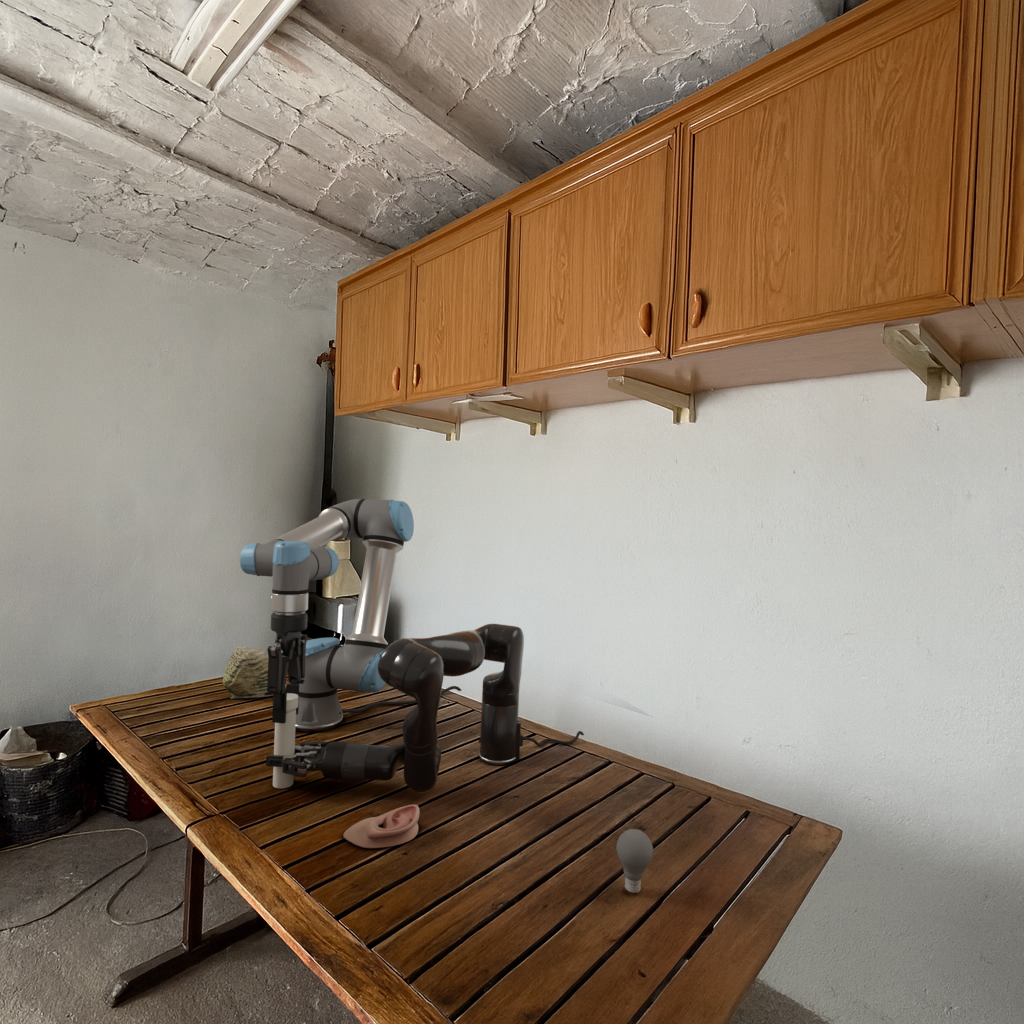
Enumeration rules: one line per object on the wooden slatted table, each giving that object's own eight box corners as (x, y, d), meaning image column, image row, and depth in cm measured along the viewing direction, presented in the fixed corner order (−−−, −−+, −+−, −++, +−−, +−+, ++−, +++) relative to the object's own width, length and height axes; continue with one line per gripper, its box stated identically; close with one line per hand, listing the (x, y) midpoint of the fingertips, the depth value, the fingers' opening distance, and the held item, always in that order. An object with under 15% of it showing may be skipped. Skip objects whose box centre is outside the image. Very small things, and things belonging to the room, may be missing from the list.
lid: (268, 708, 137) (268, 697, 137) (285, 702, 142) (285, 691, 142) (286, 712, 135) (286, 701, 135) (303, 706, 140) (303, 695, 140)
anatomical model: (336, 822, 116) (363, 794, 127) (335, 843, 116) (362, 813, 127) (404, 832, 113) (426, 803, 124) (403, 854, 113) (425, 823, 124)
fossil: (218, 695, 195) (220, 647, 195) (278, 685, 208) (279, 640, 207) (228, 703, 189) (230, 653, 188) (289, 692, 201) (290, 645, 201)
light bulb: (610, 879, 108) (613, 822, 108) (644, 879, 109) (647, 822, 109) (619, 902, 102) (622, 840, 102) (655, 901, 103) (658, 840, 103)
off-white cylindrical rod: (287, 789, 136) (290, 704, 136) (269, 787, 137) (272, 702, 137) (296, 780, 141) (299, 698, 140) (278, 779, 141) (281, 696, 141)
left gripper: (293, 604, 148) (289, 703, 148) (250, 618, 130) (246, 730, 130) (323, 606, 146) (319, 706, 147) (285, 620, 129) (281, 734, 129)
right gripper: (358, 731, 145) (285, 727, 146) (338, 756, 131) (257, 751, 132) (357, 764, 145) (284, 759, 146) (337, 792, 131) (256, 787, 132)
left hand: (285, 717), depth 139 cm, fingers closed on lid, 5 cm apart
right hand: (271, 755), depth 139 cm, fingers closed on off-white cylindrical rod, 4 cm apart
